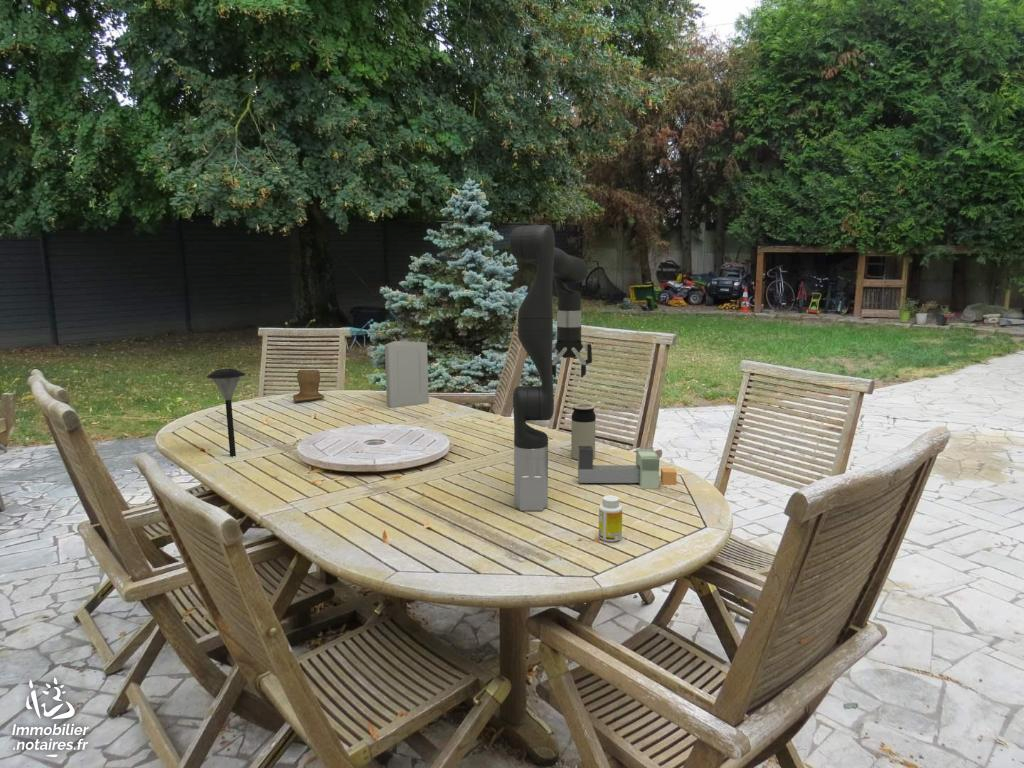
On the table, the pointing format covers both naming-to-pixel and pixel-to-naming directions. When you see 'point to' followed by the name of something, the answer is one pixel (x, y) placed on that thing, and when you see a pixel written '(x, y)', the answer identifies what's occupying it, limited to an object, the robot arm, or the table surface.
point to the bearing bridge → (648, 468)
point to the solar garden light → (227, 397)
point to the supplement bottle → (610, 519)
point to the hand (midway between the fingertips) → (568, 376)
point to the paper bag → (406, 373)
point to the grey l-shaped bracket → (604, 470)
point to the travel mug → (583, 428)
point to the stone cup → (308, 386)
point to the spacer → (668, 476)
